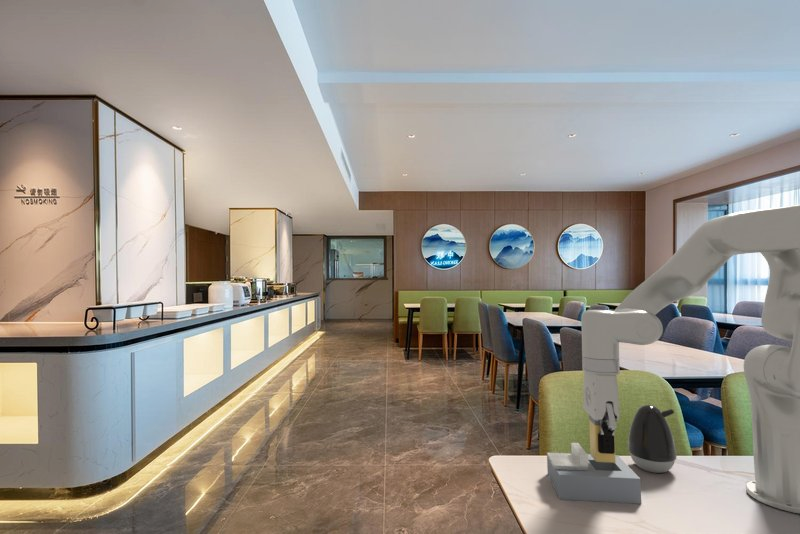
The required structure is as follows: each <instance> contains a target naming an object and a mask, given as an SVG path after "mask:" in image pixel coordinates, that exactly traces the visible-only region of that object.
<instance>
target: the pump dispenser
mask: <svg viewBox="0 0 800 534" xmlns="http://www.w3.org/2000/svg"><path fill="white" fill-rule="evenodd" d="M674 414H675V411H674V409H672V408H670V409H667V410H663V411H661V409H659V408H658V407H657V406H655V405H651V404H644V405H642V406H640V407H639V408H638V409H637V411H636V413H635V414H634V416H633V418H632V421H631V424H630V428H629V432H628V440H627V450H628V452H629V455H630V457H631V459H632V461H633V462H634V464H635V465H636V466H637V467H638V468H640V469H642V470H644V471H646V472H650V473H655V474H662V473H667V472H668V471H670V470H671V469H672V468H673V466H674V465H675V461H676V460H677V449H676V445H675V440H674V436H673V432H672V429H671V428H670V424H669V422H668V421H667V419H666V418H667V417H669V416H672V415H674Z"/></svg>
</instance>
